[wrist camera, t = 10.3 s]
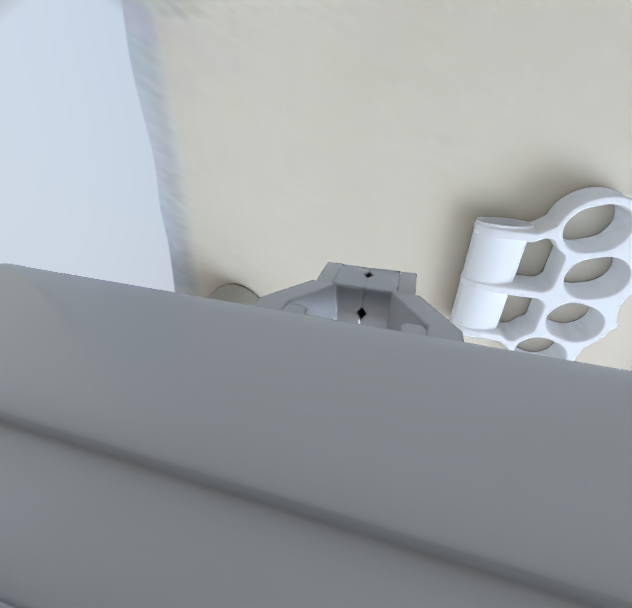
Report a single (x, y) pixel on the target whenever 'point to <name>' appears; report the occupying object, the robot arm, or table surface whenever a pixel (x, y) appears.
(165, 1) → the table surface
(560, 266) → the knuckle duster
